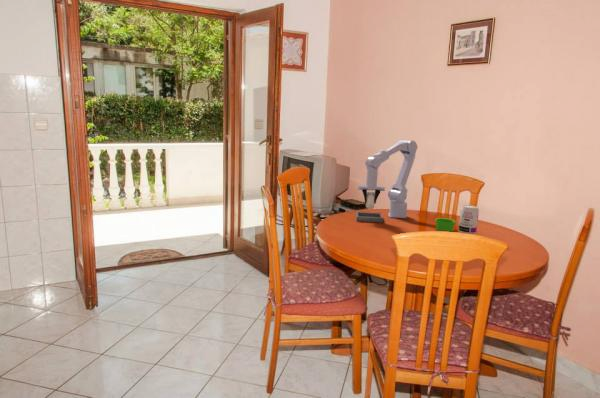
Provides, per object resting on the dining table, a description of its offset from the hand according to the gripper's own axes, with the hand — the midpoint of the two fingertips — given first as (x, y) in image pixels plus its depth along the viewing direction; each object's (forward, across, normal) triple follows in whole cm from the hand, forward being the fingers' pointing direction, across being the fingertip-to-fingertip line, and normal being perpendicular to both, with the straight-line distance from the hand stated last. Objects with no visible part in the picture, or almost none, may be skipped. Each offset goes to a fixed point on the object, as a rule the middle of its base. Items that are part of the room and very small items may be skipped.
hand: (370, 203), depth 234 cm
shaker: (+2, 0, 0) cm, 2 cm away
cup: (+9, +31, -39) cm, 51 cm away
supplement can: (+9, +46, -24) cm, 53 cm away
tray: (+9, 0, 0) cm, 9 cm away
